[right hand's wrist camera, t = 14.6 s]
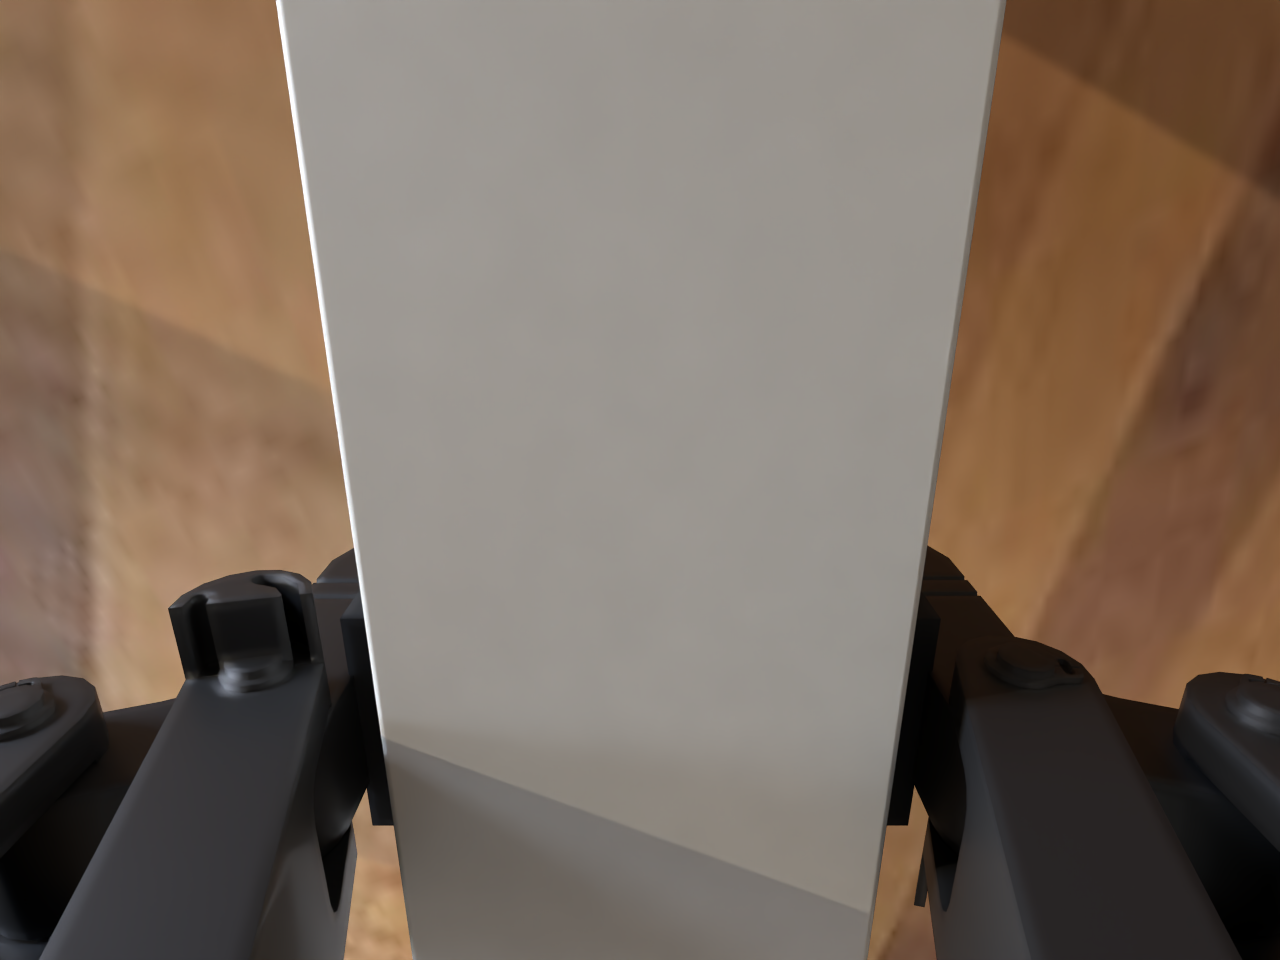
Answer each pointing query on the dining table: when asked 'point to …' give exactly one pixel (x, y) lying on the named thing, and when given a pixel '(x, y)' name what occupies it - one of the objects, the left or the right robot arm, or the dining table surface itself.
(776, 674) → the post
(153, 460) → the dining table surface
